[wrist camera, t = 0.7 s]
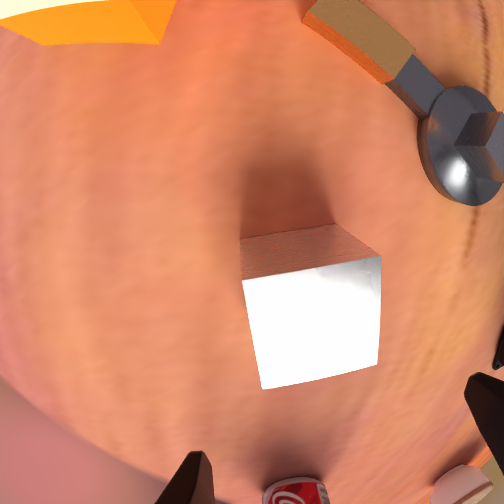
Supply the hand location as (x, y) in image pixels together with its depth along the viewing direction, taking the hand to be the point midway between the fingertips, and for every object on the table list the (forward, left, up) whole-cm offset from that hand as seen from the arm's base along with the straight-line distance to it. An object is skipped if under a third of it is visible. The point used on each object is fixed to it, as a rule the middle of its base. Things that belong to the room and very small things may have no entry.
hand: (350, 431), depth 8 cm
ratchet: (-10, -11, -11) cm, 18 cm away
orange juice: (+8, -21, -11) cm, 25 cm away
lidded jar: (-24, +41, -11) cm, 49 cm away
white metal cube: (0, -1, -11) cm, 11 cm away
